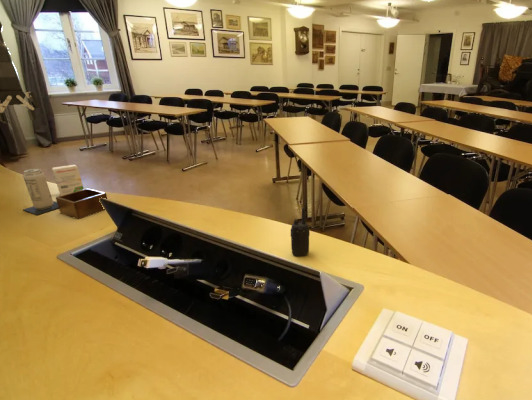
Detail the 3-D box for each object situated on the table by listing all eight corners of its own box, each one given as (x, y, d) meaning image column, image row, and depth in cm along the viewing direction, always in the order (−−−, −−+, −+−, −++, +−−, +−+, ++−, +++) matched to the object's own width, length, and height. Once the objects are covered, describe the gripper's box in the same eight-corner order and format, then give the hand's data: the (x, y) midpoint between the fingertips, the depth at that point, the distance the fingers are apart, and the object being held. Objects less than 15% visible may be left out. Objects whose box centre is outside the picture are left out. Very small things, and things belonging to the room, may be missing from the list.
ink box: (82, 188, 146) (75, 163, 142) (84, 191, 143) (77, 166, 138) (59, 193, 141) (51, 167, 136) (60, 196, 137) (52, 169, 133)
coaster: (36, 215, 119) (36, 214, 119) (23, 210, 123) (22, 209, 123) (66, 206, 127) (66, 205, 127) (52, 201, 131) (52, 200, 131)
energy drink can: (58, 205, 127) (46, 169, 121) (41, 211, 122) (28, 173, 116) (47, 203, 129) (35, 167, 123) (31, 208, 123) (17, 171, 118)
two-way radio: (308, 250, 98) (308, 205, 92) (310, 258, 94) (310, 211, 88) (290, 251, 97) (289, 206, 91) (291, 259, 93) (290, 212, 87)
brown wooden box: (78, 219, 117) (73, 203, 114) (60, 213, 121) (55, 197, 119) (109, 207, 126) (105, 192, 124) (92, 202, 131) (88, 188, 129)
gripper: (22, 75, 123) (36, 118, 129) (-28, 75, 111) (-10, 123, 117) (33, 75, 120) (46, 119, 126) (-17, 76, 108) (0, 124, 114)
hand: (19, 121), depth 121 cm, fingers open, 8 cm apart
